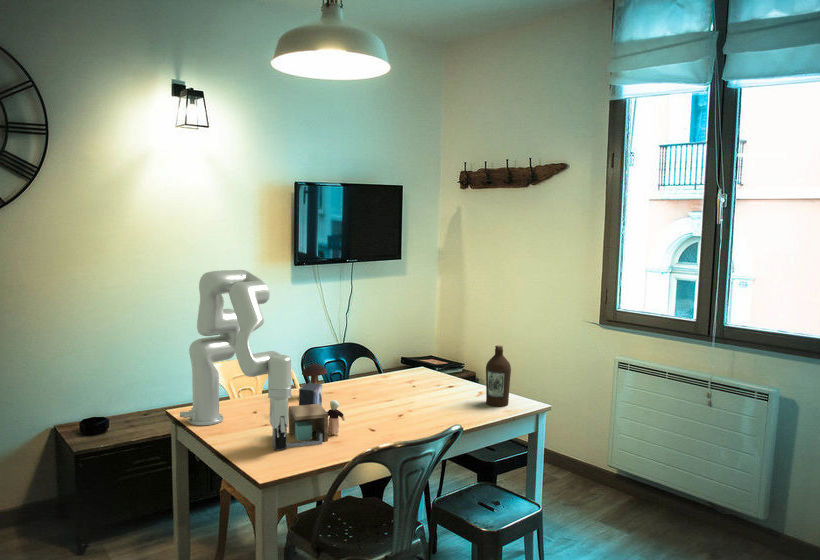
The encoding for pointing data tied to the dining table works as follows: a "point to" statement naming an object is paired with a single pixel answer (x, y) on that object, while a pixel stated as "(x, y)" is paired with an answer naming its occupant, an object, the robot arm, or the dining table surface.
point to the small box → (310, 394)
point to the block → (303, 430)
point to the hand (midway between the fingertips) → (279, 445)
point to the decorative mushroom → (314, 372)
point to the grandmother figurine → (334, 418)
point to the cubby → (309, 418)
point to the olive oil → (498, 379)
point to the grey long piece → (296, 444)
